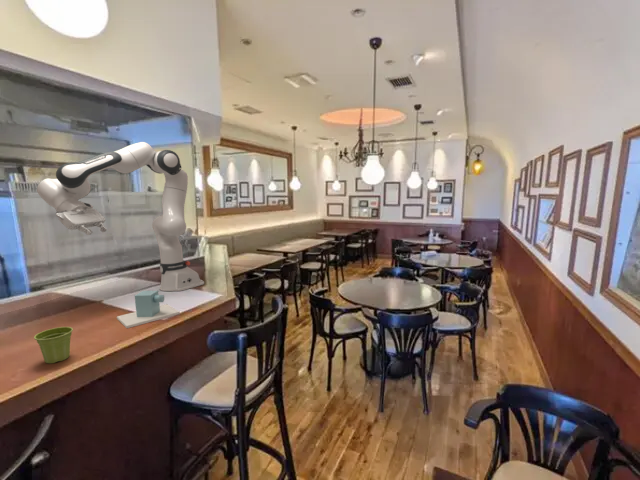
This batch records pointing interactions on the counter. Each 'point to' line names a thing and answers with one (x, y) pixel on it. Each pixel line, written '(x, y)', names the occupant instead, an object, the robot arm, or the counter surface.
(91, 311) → the counter surface
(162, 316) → the board
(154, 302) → the light blue pegged cube
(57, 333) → the plant pot
